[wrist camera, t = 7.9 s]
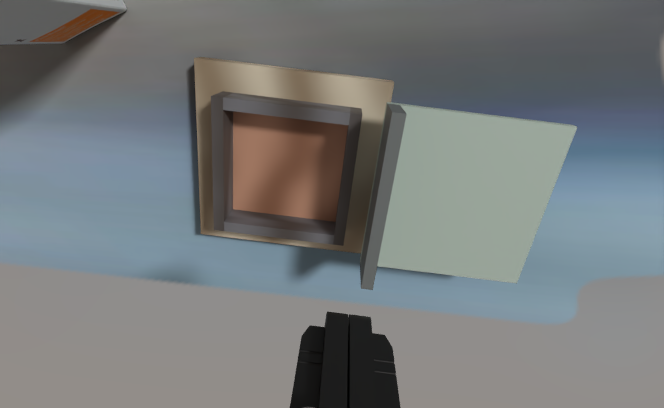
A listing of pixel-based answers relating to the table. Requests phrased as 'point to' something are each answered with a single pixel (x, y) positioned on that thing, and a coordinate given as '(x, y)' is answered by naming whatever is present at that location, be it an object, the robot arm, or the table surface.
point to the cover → (459, 192)
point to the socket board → (287, 152)
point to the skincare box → (52, 19)
